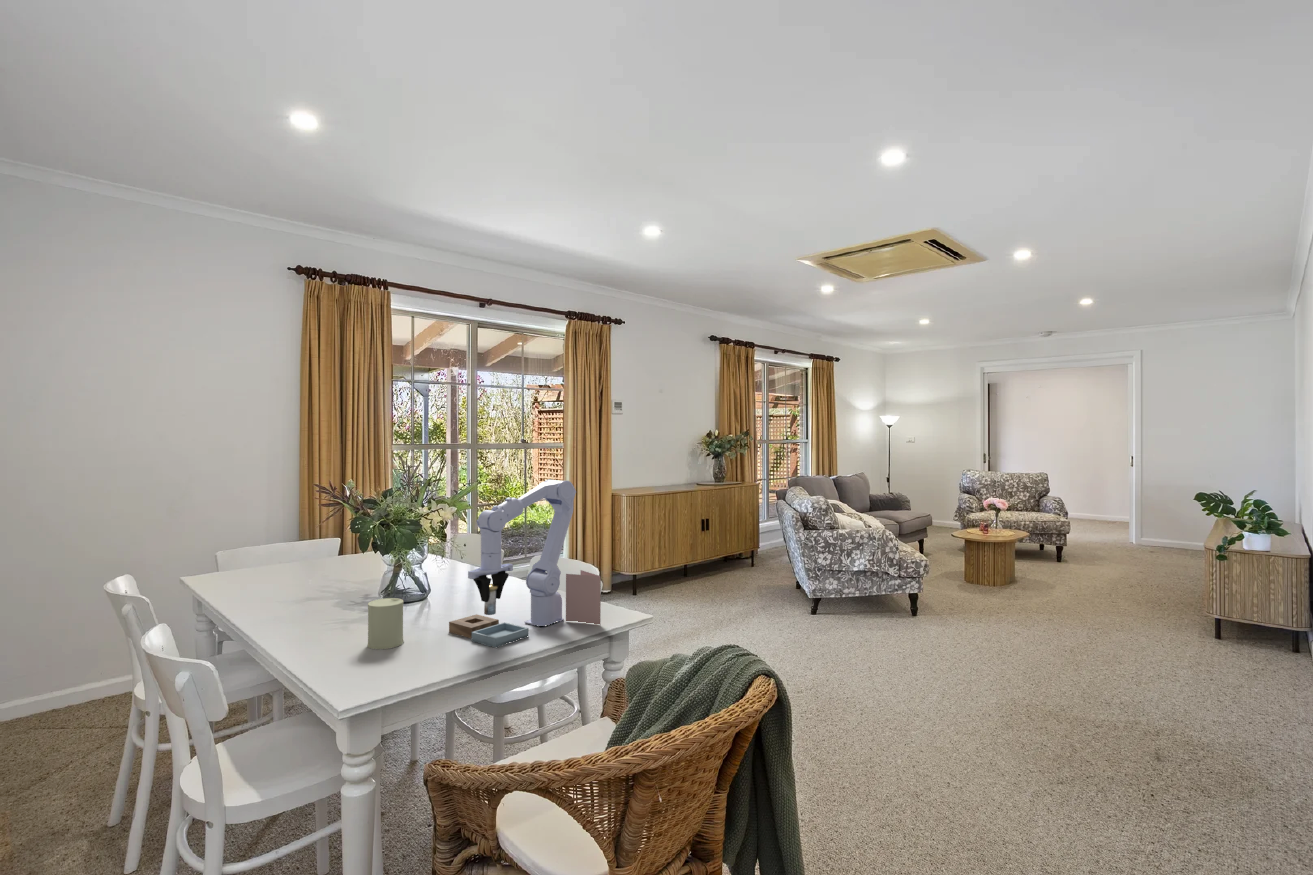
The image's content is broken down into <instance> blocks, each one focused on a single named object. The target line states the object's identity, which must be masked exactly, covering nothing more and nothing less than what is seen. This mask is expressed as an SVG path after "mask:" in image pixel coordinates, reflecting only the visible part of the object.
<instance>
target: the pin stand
mask: <svg viewBox="0 0 1313 875" xmlns="http://www.w3.org/2000/svg"><path fill="white" fill-rule="evenodd" d="M499 621H500V620H499V619H497V618H495V617H494V618H493V617H489V616H485V615H481V614H477V613H476V614H473V615H469V616H467V617H462V618H458V619H455V620H451V621H449V622H448V632H449V633H451V634H453V635H454V634H455V635H458V636H462V637H463V638H464V637H466V638H469V639H472V632H474V631H477V630H480V629H484V628H487V627H491V626H494V625H497V624H500V622H499Z"/></svg>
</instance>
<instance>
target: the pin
mask: <svg viewBox="0 0 1313 875" xmlns="http://www.w3.org/2000/svg"><path fill="white" fill-rule="evenodd" d="M496 589H498V585H497V584H493V583H490V586H489V599H488V602H484V604H483V605H484V607H483V609H484V610H483V612H484V613H483V614H484V616H485V615H486V616H492V615H496V614H497V599H496Z"/></svg>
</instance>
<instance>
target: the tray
mask: <svg viewBox="0 0 1313 875" xmlns="http://www.w3.org/2000/svg"><path fill="white" fill-rule="evenodd" d="M529 631H530V630H529V627H525V626H522V625H517V624H514V623H510V622H501V623H499V624H497V625H494V626H491V627H487V628H484V629H480V630H477V631H474V632H472V638H471V642H474V643H477V642H478V643H477V644H480V643H481V645H483V646H488V647H491V646H493V647H492V648H494V647H497V648H499V647H498V646H500V647H503V646H505V644H506V643H509V642H512V643H514V642H513V641H515V642H517V641H516V640H518V639H520V638H524V639H526V638H525V637H527V636H529V635H530V634H529ZM527 638H528V637H527ZM518 641H519V640H518ZM509 644H510V643H509ZM502 645H503V646H502ZM506 645H507V644H506Z"/></svg>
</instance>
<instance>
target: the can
mask: <svg viewBox="0 0 1313 875" xmlns="http://www.w3.org/2000/svg"><path fill="white" fill-rule="evenodd" d="M404 601H405V600H403V599H401V598H397V597H396V598H395V597H387V598H386V597H385V598H379V599H373V600H372V601H369V602H368V603H367V630H368V631H367V648H368V649H372V650H388V649H389V650H390V649H393V648H397V647H400V646H402V645H403V644H404Z"/></svg>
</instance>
